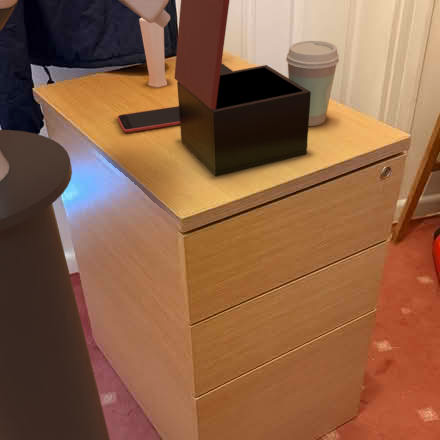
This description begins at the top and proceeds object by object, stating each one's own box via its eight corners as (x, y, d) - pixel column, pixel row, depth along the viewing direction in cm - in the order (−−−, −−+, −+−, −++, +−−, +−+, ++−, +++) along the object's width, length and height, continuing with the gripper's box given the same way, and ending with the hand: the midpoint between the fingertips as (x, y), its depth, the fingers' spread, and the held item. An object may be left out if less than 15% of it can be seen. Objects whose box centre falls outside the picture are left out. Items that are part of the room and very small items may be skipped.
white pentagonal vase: (162, 78, 118) (155, -3, 109) (173, 84, 116) (166, 2, 106) (142, 82, 117) (133, 1, 107) (152, 89, 114) (144, 6, 104)
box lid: (189, -44, 79) (184, -45, 79) (233, -26, 70) (227, -27, 69) (179, 78, 89) (174, 78, 88) (215, 109, 79) (210, 109, 79)
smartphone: (203, 118, 100) (123, 130, 97) (203, 121, 101) (124, 133, 98) (192, 103, 106) (116, 114, 102) (192, 106, 106) (116, 118, 103)
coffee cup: (335, 129, 97) (342, 55, 89) (283, 129, 97) (287, 56, 90) (330, 109, 103) (337, 39, 96) (282, 109, 104) (285, 39, 96)
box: (265, 122, 100) (266, 64, 94) (306, 154, 90) (311, 91, 84) (181, 141, 95) (176, 81, 89) (215, 176, 85) (213, 112, 79)
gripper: (117, -74, 58) (210, 18, 67) (72, -93, 73) (153, -15, 82) (81, -20, 60) (177, 63, 69) (44, -49, 74) (127, 22, 83)
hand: (164, 20), depth 75 cm, fingers closed
